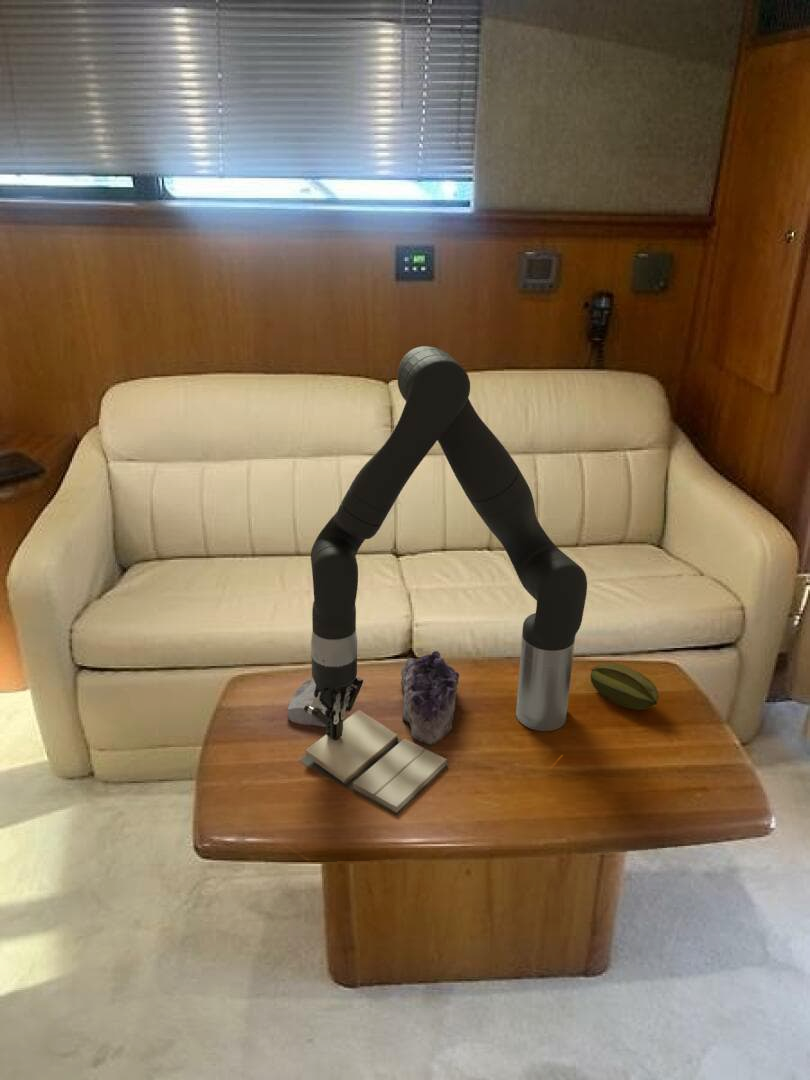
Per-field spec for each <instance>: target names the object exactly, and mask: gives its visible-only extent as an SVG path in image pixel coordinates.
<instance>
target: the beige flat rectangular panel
mask: <svg viewBox="0 0 810 1080" xmlns="http://www.w3.org/2000/svg"><path fill="white" fill-rule="evenodd" d="M398 739H399V737H398V733H395V732H394V731H392V730H391V729H389V728H388V727H386V726H385V725H383V724H382V723H381V722H378V721H377V720H375V719H374V718H372V717H371V716H369V715H368V714H366V713H365V712H363V711H361V709H357V710H356V711H355V712H353V713H352V714H351V715H349V717H347V718H346V719H344V720H343V731H342V736H341V737H340V738H338V739H337V740H333V739H332V738H330V737H328V736H327V735H326V734H325V735H323V736H322V737H321V738H320V739H318V740H317V741H316V742H314V743H313V744H312V745H311V746H308V747H307V748H306V749H305V753H304V756H307V757H308V758H310V759H311V760H313V761H314V762H315V763H317V764H318V765H320V766H321V767H322V768H324V769H325V770H327V771H328V772H329V773H331V774H332V775H334V776H335V777H336V778H338V779H339V780H341V781H342V782H343V783H345V784H347V783H349V782H350V781H351V780H352V779H353V778H354V777H356V776H357V775H358V774H359V773H360V772H362V771H363V770H364V769H365V768H366V767H367V766H369V765H370V764H371V763H372V762H373V761H374V760H376V759H377V758H378V757H379V756H380V755H381V754H383V753H384V752H385V751H386V750H387V749H389V748H390V747H391V746H392V745H393V744H394V743H396V742H397V741H398Z"/></svg>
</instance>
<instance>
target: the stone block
mask: <svg viewBox="0 0 810 1080" xmlns="http://www.w3.org/2000/svg"><path fill="white" fill-rule="evenodd" d="M315 688H316V684H315V682H314V679H313V677H312V678H310V679H307V680H305V681H303V682H301V684H300V686H299V687H298V688H297V690H296V691H295V692H294V693H293V695H292V698H291V699H290V701H289V704H288V708H287V716H288V718H289V721H291V722H292V723H295V724H296V723H297V724H299V725H309V726H318V727H323V728H326V725H324V724H322V723H320V722H319V721H317V720H316V719H314V718H313V717H312V716H311V715H309V714H308V713H307V712H305V711H304V708H305V706H306V705H307V704H309V705H310V706H311V704H312V702H313V701H314V699H315V697H314V691H315ZM322 713H323V712H322ZM330 714H331V713H330Z"/></svg>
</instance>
